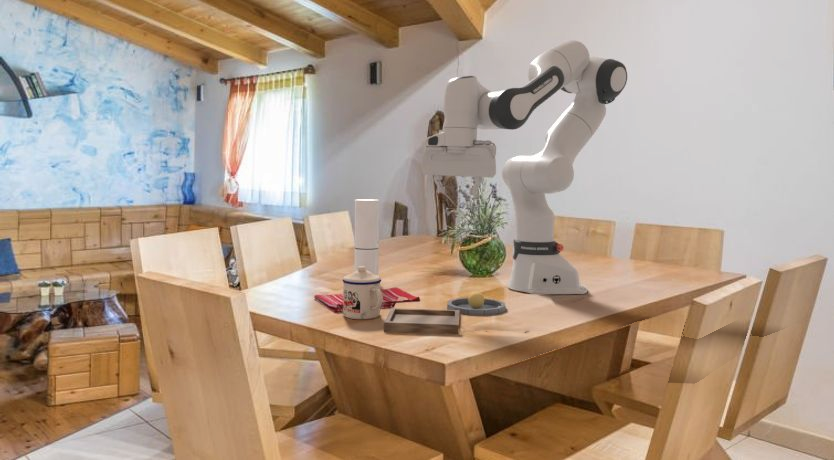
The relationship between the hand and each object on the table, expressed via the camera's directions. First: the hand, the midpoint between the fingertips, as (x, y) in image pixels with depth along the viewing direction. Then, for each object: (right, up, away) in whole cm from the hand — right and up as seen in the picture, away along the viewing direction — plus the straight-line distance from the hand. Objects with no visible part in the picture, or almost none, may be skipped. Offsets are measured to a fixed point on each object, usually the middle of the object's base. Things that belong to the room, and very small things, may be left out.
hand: (457, 194), depth 169 cm
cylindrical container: (-25, -25, +26) cm, 44 cm away
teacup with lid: (-22, -30, -15) cm, 40 cm away
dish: (+4, -29, -9) cm, 31 cm away
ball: (+4, -28, -9) cm, 30 cm away
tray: (-9, -30, -22) cm, 39 cm away
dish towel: (-23, -29, +1) cm, 37 cm away
